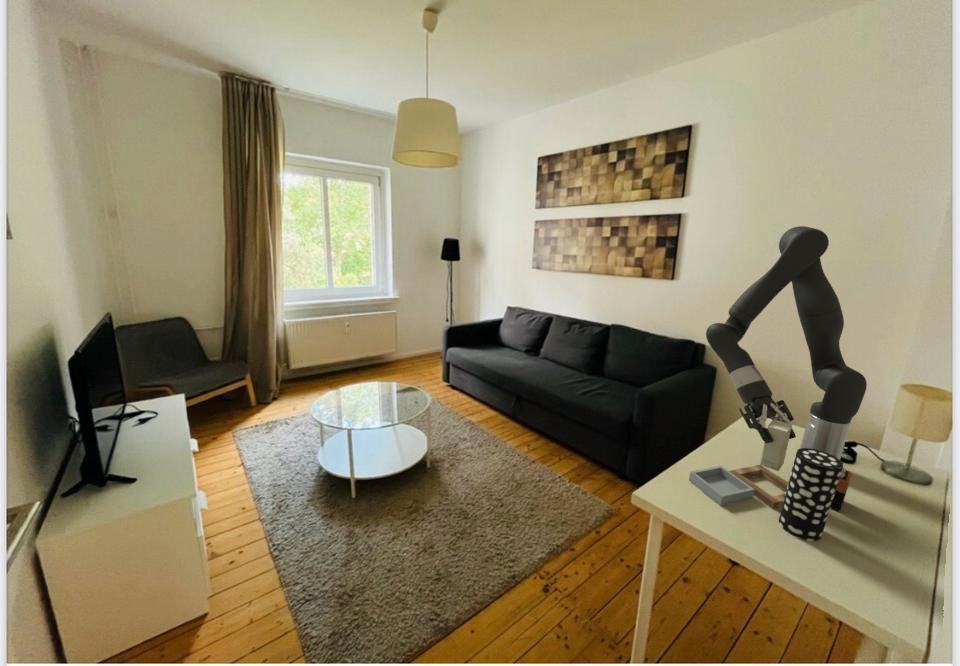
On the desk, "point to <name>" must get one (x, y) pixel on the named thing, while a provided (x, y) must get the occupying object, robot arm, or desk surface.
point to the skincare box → (776, 445)
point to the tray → (721, 485)
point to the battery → (841, 490)
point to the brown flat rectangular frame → (759, 493)
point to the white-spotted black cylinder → (810, 493)
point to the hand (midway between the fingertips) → (781, 440)
